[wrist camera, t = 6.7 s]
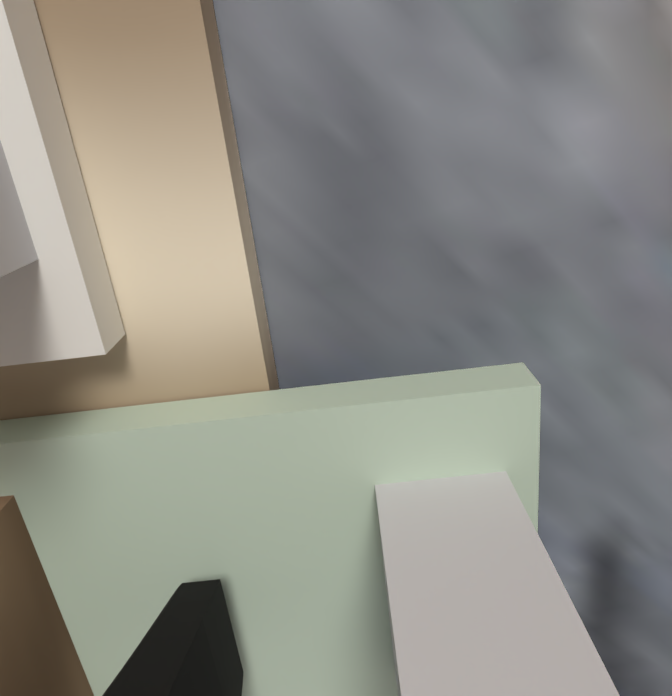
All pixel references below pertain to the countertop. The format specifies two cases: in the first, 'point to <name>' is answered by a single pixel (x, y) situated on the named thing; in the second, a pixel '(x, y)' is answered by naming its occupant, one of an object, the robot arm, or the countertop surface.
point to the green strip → (314, 534)
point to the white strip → (45, 214)
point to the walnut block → (32, 620)
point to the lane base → (154, 211)
